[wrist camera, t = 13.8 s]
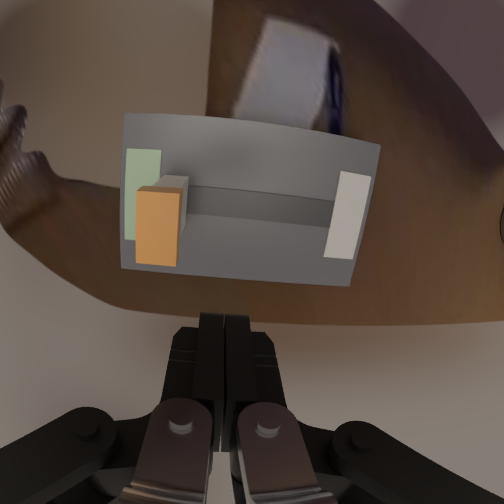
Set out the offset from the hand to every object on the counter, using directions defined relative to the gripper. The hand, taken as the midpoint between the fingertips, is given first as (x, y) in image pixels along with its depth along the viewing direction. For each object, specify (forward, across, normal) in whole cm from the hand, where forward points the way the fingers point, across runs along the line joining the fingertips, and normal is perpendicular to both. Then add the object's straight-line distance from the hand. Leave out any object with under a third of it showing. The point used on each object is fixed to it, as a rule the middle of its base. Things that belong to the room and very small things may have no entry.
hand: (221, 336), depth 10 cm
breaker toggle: (+18, +4, 0) cm, 18 cm away
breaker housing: (+23, -2, 0) cm, 23 cm away
